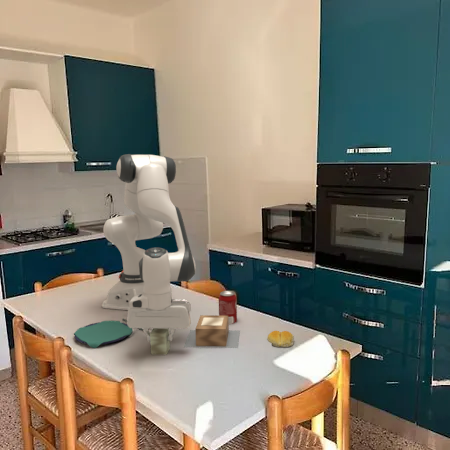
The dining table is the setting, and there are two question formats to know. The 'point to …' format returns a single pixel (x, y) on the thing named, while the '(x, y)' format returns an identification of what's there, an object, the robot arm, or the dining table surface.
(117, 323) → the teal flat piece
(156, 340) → the sage block
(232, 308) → the soda can
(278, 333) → the bread roll
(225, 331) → the wooden cube box
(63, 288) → the dining table surface
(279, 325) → the dining table surface
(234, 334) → the grey flat slab
